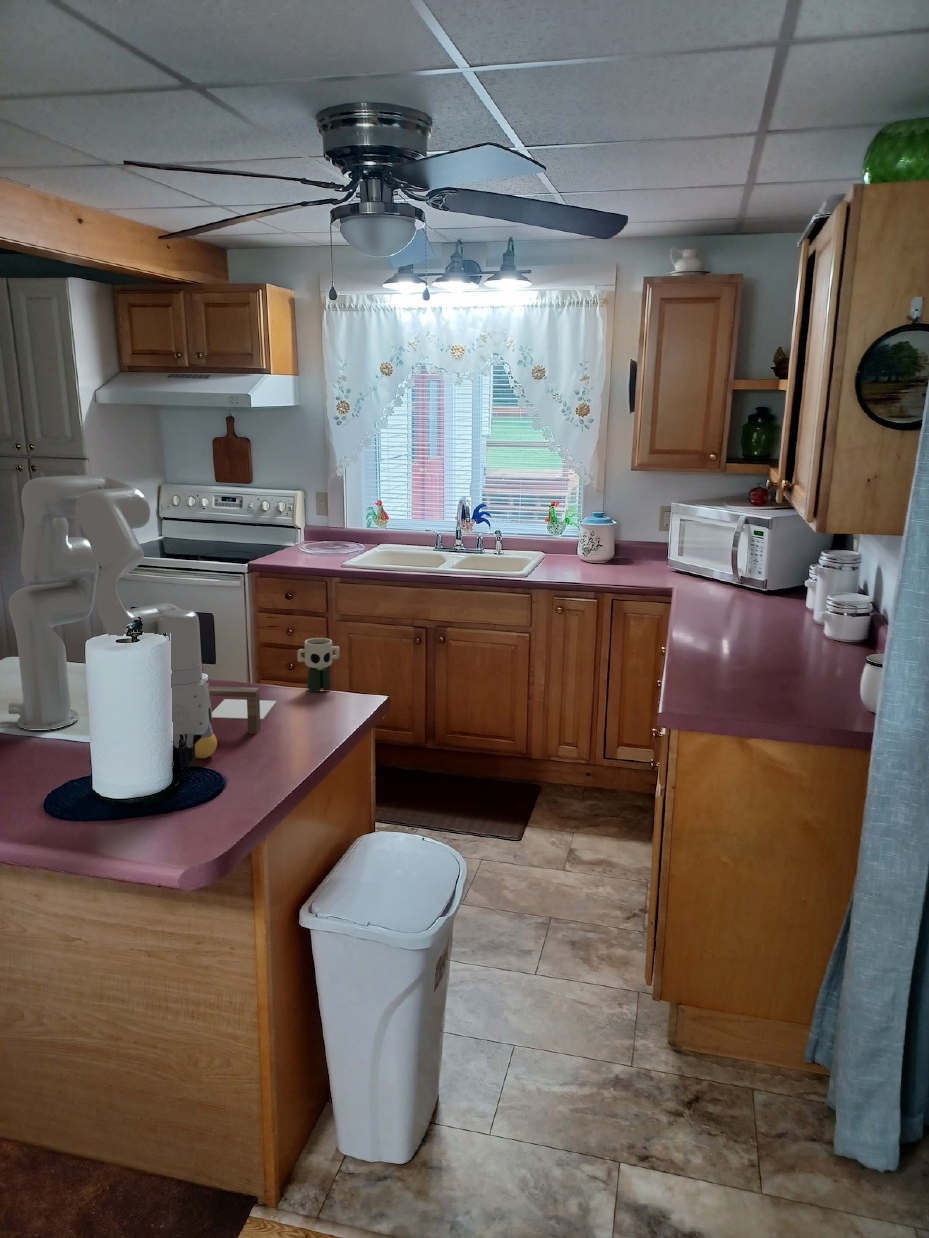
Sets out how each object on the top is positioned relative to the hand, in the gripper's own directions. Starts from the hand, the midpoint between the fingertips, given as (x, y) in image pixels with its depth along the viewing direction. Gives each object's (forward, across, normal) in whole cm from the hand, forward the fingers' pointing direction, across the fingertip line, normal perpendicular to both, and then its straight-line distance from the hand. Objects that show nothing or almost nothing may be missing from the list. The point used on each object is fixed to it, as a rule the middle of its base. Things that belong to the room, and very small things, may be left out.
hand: (187, 764), depth 173 cm
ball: (-1, 0, +10) cm, 10 cm away
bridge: (+2, 0, +26) cm, 26 cm away
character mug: (+3, +15, +57) cm, 59 cm away
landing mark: (+2, 0, +40) cm, 40 cm away
